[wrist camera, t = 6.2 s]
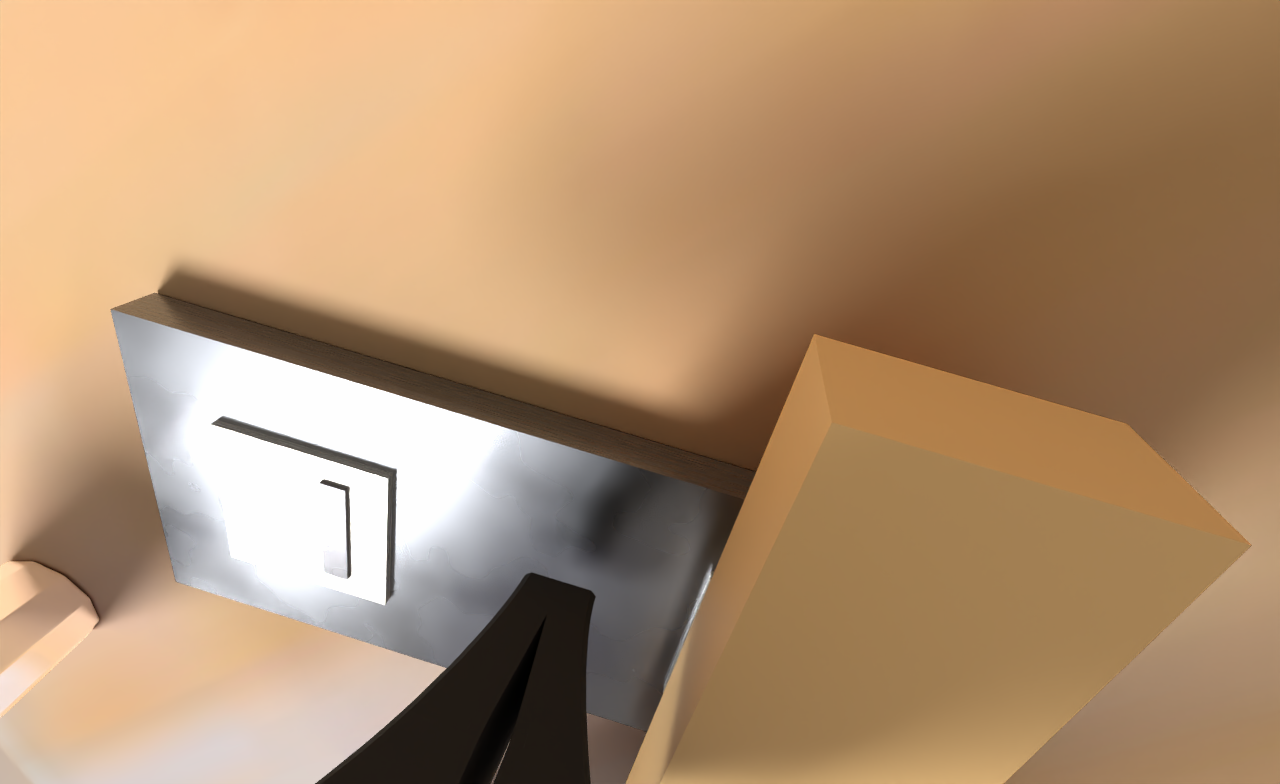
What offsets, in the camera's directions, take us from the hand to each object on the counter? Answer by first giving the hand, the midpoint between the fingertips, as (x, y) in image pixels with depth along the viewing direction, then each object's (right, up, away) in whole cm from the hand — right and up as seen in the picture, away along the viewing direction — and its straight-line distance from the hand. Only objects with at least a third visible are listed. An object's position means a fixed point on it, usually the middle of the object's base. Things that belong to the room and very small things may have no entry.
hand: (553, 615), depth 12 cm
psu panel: (0, 0, +3) cm, 3 cm away
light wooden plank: (+4, -2, +1) cm, 5 cm away
